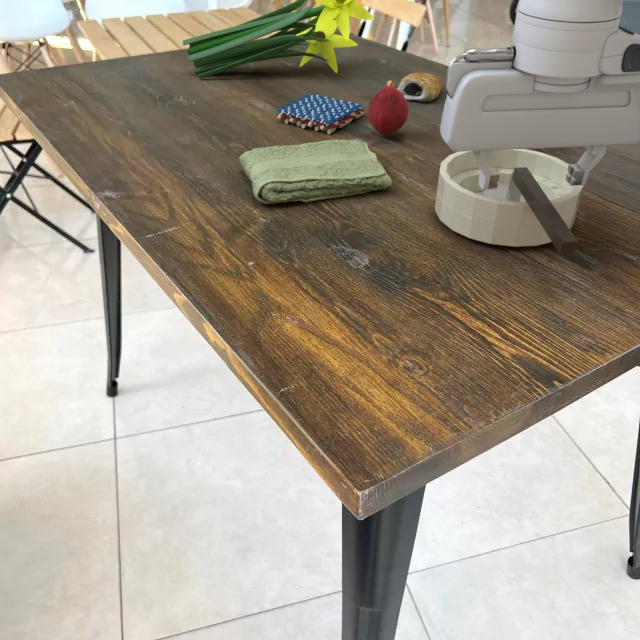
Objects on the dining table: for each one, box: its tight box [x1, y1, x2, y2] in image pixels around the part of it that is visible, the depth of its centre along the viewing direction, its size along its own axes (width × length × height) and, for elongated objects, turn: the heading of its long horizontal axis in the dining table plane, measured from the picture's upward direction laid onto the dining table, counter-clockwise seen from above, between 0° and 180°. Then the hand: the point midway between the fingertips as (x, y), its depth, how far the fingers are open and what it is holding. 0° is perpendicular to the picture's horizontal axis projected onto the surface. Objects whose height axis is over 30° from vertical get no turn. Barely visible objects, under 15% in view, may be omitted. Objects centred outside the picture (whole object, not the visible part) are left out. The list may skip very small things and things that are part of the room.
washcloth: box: [238, 138, 393, 205], centre depth 83 cm, size 13×18×3 cm
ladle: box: [482, 167, 579, 255], centre depth 68 cm, size 19×5×7 cm, turn 6°
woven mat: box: [275, 93, 365, 135], centre depth 101 cm, size 10×11×2 cm
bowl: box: [434, 149, 585, 248], centre depth 74 cm, size 16×16×6 cm
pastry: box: [396, 71, 443, 103], centre depth 110 cm, size 9×7×4 cm
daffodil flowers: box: [182, 0, 375, 79], centre depth 117 cm, size 17×15×35 cm
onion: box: [367, 80, 410, 138], centre depth 93 cm, size 6×6×8 cm
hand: (531, 185), depth 68 cm, fingers open, 8 cm apart
